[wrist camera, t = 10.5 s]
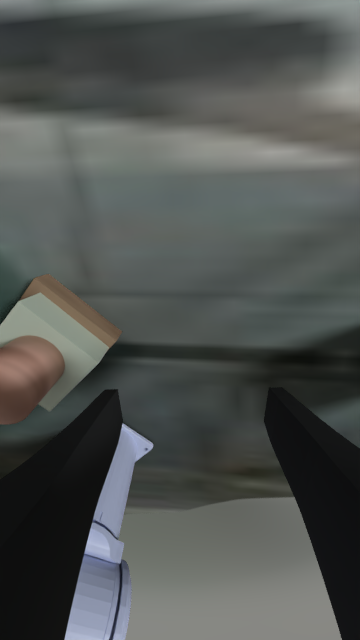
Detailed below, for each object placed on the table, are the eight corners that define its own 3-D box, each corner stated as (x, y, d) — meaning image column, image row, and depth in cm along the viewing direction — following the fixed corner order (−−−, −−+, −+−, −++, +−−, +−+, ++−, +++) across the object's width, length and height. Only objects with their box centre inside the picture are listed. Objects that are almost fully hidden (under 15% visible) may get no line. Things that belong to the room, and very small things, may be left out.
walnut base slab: (78, 378, 23) (67, 393, 21) (10, 331, 21) (-11, 343, 19) (123, 329, 21) (116, 341, 19) (52, 272, 19) (34, 278, 17)
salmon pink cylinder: (46, 393, 18) (10, 434, 14) (-3, 361, 17) (-56, 397, 13) (76, 360, 17) (45, 396, 13) (24, 323, 16) (-25, 352, 12)
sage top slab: (64, 391, 21) (49, 411, 19) (-2, 346, 19) (-28, 361, 17) (109, 347, 19) (99, 363, 17) (40, 292, 17) (18, 301, 15)
